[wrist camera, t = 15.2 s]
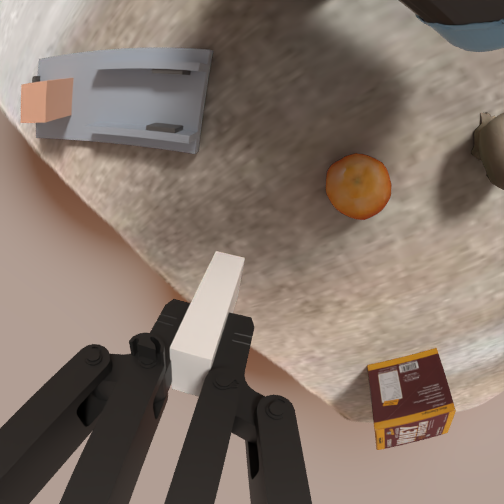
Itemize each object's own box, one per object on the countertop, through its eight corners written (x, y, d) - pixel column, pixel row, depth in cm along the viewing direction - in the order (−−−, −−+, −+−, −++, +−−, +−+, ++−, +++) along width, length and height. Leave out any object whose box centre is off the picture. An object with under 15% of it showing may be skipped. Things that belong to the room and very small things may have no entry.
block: (47, 80, 34) (21, 84, 29) (73, 77, 34) (46, 81, 29) (46, 115, 37) (20, 122, 32) (71, 115, 37) (45, 122, 32)
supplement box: (434, 375, 55) (448, 433, 42) (370, 390, 60) (375, 451, 47) (437, 346, 51) (457, 410, 37) (366, 364, 55) (373, 431, 42)
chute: (45, 58, 33) (26, 60, 29) (213, 50, 32) (202, 46, 28) (41, 135, 41) (24, 142, 37) (198, 151, 39) (186, 159, 35)
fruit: (343, 230, 40) (337, 227, 33) (322, 177, 41) (312, 163, 34) (397, 210, 38) (403, 202, 30) (374, 157, 38) (375, 138, 31)
